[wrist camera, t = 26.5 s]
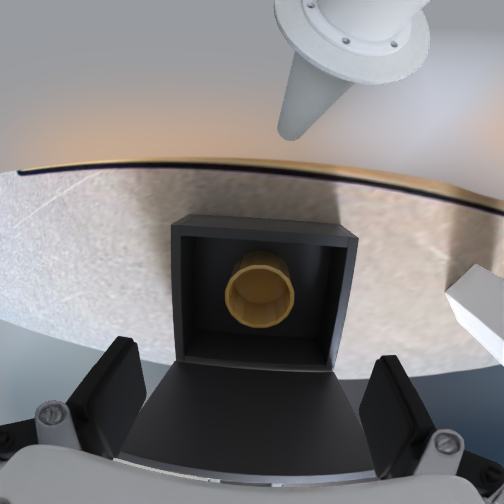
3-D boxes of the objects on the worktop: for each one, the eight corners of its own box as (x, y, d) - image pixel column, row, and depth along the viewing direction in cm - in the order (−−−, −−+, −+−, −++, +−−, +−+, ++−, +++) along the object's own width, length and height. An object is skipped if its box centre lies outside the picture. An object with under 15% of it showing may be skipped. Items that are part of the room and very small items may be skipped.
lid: (113, 449, 13) (126, 498, 13) (382, 468, 13) (359, 515, 13) (174, 360, 28) (176, 402, 28) (334, 371, 27) (325, 413, 27)
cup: (223, 292, 32) (215, 313, 27) (244, 240, 30) (240, 254, 25) (275, 313, 32) (276, 336, 27) (299, 263, 31) (305, 280, 26)
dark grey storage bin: (189, 214, 31) (170, 224, 24) (341, 224, 30) (359, 238, 24) (190, 330, 34) (176, 361, 28) (323, 340, 34) (332, 372, 28)
